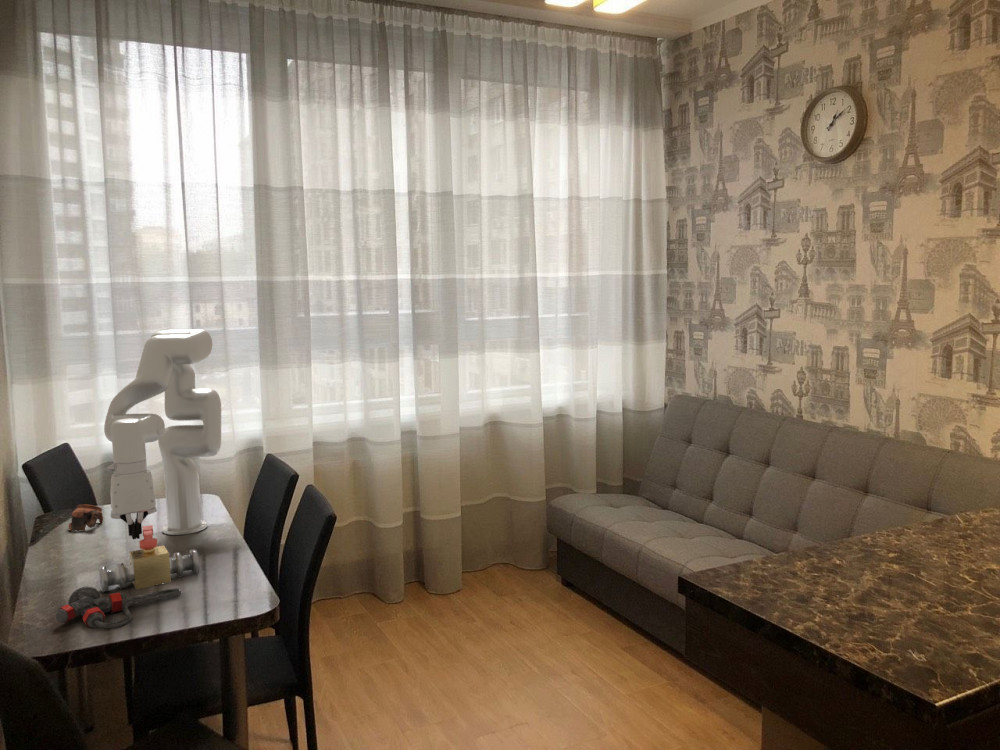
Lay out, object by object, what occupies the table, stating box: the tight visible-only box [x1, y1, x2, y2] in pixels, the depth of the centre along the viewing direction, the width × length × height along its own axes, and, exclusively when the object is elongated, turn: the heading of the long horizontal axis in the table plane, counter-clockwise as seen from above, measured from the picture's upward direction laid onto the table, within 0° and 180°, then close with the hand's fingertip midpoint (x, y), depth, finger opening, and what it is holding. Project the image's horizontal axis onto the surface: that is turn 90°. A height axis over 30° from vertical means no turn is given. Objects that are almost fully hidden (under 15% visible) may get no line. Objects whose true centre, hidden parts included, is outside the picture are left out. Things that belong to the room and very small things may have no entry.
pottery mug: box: [68, 504, 104, 532], centre depth 243 cm, size 12×10×8 cm
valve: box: [55, 586, 182, 629], centre depth 177 cm, size 6×26×15 cm
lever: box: [138, 524, 158, 550], centre depth 201 cm, size 16×4×2 cm, turn 24°
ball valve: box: [98, 545, 201, 593], centre depth 196 cm, size 7×22×9 cm, turn 123°
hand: (135, 537), depth 203 cm, fingers closed
